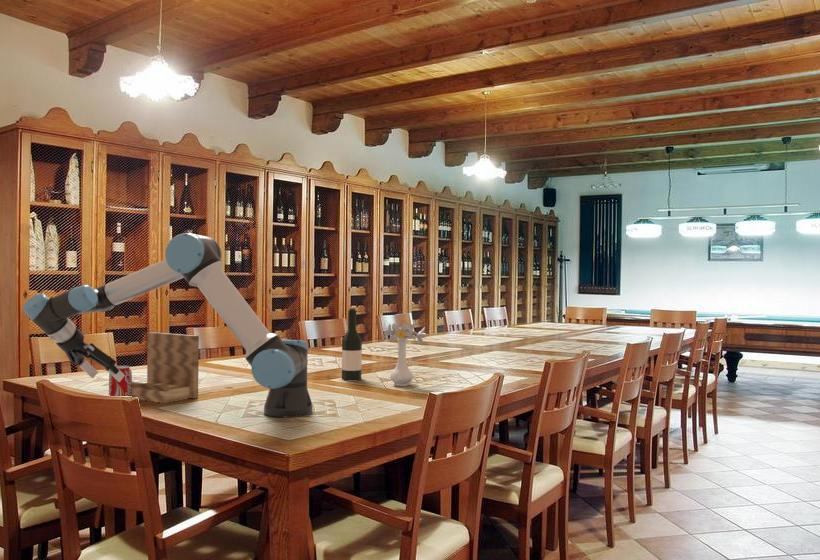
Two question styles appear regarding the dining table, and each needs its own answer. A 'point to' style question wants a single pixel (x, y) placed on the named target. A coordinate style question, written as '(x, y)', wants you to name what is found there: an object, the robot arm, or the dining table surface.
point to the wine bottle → (351, 350)
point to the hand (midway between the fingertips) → (108, 376)
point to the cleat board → (170, 368)
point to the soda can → (121, 383)
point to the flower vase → (403, 351)
